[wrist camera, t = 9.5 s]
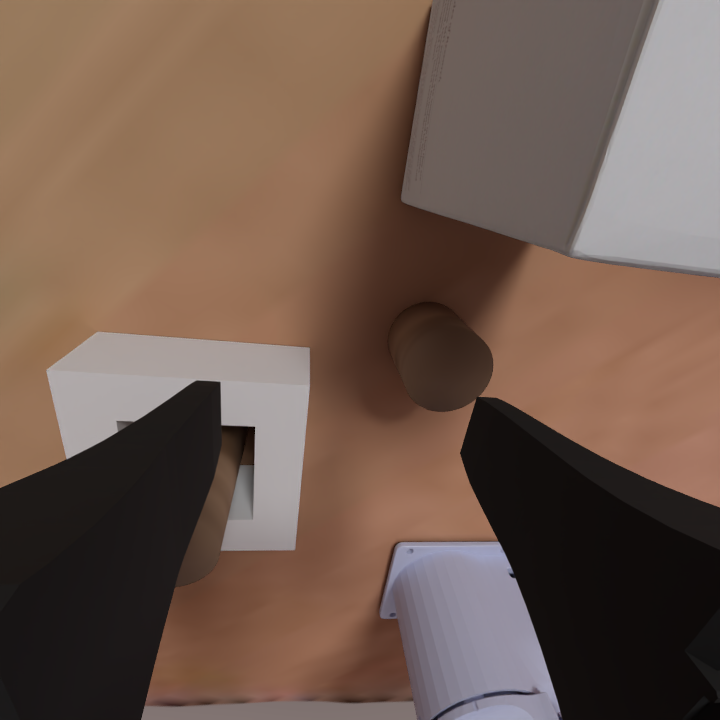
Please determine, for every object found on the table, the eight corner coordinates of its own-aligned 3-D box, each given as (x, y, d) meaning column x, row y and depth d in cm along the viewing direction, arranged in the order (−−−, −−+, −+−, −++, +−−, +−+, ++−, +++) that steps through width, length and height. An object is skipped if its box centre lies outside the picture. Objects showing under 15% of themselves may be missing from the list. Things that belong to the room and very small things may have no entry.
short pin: (469, 305, 20) (504, 334, 17) (452, 374, 22) (479, 413, 18) (394, 298, 19) (413, 326, 16) (382, 369, 21) (397, 409, 18)
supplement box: (395, 204, 18) (551, 263, 6) (431, -8, 14) (871, -663, 3) (543, 226, 19) (900, 308, 7) (605, 34, 16) (1376, -325, 4)
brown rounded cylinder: (249, 395, 21) (219, 512, 14) (247, 454, 22) (220, 586, 15) (169, 390, 20) (94, 511, 13) (174, 452, 22) (109, 589, 15)
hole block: (309, 347, 20) (309, 385, 16) (297, 494, 24) (294, 550, 21) (97, 331, 18) (46, 369, 15) (123, 491, 23) (88, 551, 19)
